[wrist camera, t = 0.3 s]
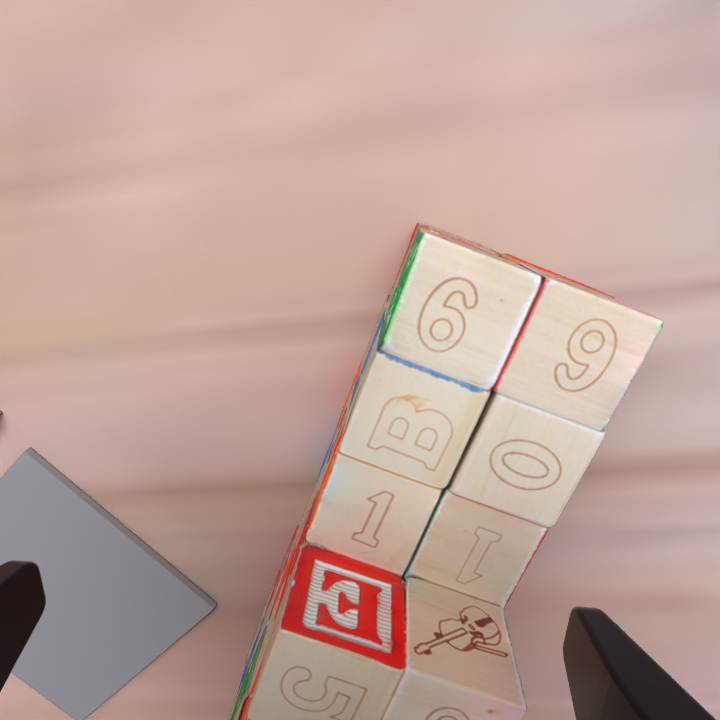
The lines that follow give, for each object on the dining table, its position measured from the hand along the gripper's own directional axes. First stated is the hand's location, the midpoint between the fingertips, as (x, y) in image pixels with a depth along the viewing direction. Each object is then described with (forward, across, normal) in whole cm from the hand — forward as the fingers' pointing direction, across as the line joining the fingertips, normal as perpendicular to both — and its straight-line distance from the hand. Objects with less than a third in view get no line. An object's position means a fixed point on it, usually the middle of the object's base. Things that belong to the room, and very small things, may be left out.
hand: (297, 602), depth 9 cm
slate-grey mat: (+13, +15, +15) cm, 25 cm away
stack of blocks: (+14, -2, +6) cm, 16 cm away
